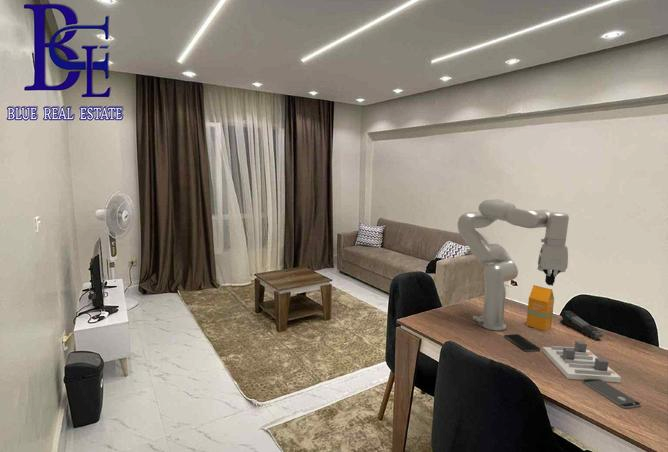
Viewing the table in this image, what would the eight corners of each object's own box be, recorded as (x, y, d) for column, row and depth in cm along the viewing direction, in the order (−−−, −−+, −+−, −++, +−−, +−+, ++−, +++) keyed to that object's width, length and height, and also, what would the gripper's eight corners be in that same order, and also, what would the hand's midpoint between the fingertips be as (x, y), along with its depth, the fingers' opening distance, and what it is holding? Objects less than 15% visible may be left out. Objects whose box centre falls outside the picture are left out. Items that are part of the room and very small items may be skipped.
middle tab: (565, 361, 142) (566, 350, 142) (562, 358, 145) (563, 347, 144) (573, 361, 142) (575, 351, 141) (570, 358, 144) (571, 348, 144)
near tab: (598, 372, 134) (599, 361, 134) (594, 368, 137) (595, 358, 136) (606, 373, 134) (608, 362, 134) (602, 369, 137) (604, 358, 136)
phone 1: (525, 350, 154) (503, 334, 168) (524, 353, 154) (502, 337, 168) (541, 349, 155) (518, 333, 169) (541, 351, 155) (518, 336, 170)
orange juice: (544, 331, 175) (549, 291, 172) (526, 325, 181) (529, 286, 178) (551, 326, 179) (555, 288, 177) (532, 321, 186) (536, 283, 183)
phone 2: (580, 382, 132) (623, 410, 117) (580, 380, 132) (624, 407, 117) (597, 380, 134) (642, 407, 119) (597, 377, 134) (642, 404, 118)
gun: (564, 320, 187) (571, 305, 182) (595, 350, 169) (604, 334, 165) (556, 321, 186) (564, 306, 181) (587, 351, 168) (596, 335, 164)
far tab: (577, 354, 148) (578, 343, 148) (574, 350, 151) (575, 341, 150) (585, 354, 148) (586, 344, 147) (582, 351, 150) (583, 341, 150)
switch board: (567, 378, 134) (568, 370, 133) (542, 351, 155) (543, 344, 154) (620, 382, 132) (621, 374, 131) (587, 354, 153) (588, 347, 152)
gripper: (539, 243, 148) (534, 286, 151) (578, 245, 147) (572, 288, 150) (532, 239, 156) (527, 280, 159) (569, 241, 154) (563, 282, 157)
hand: (549, 284), depth 154 cm, fingers closed
